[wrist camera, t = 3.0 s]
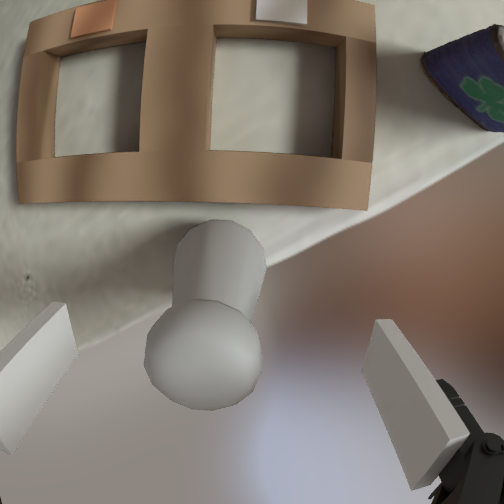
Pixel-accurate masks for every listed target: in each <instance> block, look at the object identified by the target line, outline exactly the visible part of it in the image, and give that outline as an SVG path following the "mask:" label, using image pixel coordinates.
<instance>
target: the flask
mask: <svg viewBox="0 0 504 504" xmlns="http://www.w3.org/2000/svg"><path fill="white" fill-rule="evenodd" d="M421 67H422V69H423V71H424V73H425V74H426V75H427V77H428V78H429V79H430V81H431V82H432V83H433V84H434V85H435V86H436V87H437V88H438V89H439V91H440V92H441V93H443V94H444V95H445V97H446V98H447V99H448V100H449V101H451V102H452V103H453V104H454V105H455V106H456V107H458V108H459V109H460V110H461V111H462V112H463V113H465V114H466V115H467V116H468V117H469V118H471V119H472V120H473V121H474V122H476V124H478V125H479V126H480V127H481V128H483V129H485V130H487V131H491V132H504V26H502V25H496V24H494V25H492V26H489V27H488V28H486V29H482V30H479V31H477V32H474V33H472V34H470V35H466V36H464V37H462V38H460V39H458V40H454V41H452V42H448V43H447V44H445V45H443V46H440V47H437V48H435V49H433V50H431V51H428V52H424V55H423V56H422V58H421Z"/></svg>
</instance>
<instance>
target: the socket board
mask: <svg viewBox="0 0 504 504" xmlns="http://www.w3.org/2000/svg"><path fill="white" fill-rule="evenodd" d="M216 37H233V38H260V39H274V40H286V41H295V42H304V43H312V44H319V45H325V46H332V47H335V92H334V116H333V134H332V150H331V158H330V157H321V156H310V155H298V154H285V153H269V152H250V151H220V150H210V136H211V114H212V95H213V79H214V63H215V49H216ZM138 42H146V49H145V59H144V69H143V81H142V95H141V113H140V141H139V151H130V152H111V153H97V154H84V155H73V156H63V157H55V113H56V97H57V86H58V76H59V67H60V60H61V57H63V56H67V55H71V54H76V53H80V52H85V51H89V50H94V49H99V48H105V47H111V46H117V45H123V44H130V43H138ZM375 113H376V26H375V7H374V5H371V4H367V3H363V2H359V1H355V0H101V1H97V2H93V3H89V4H85V5H81V6H77V7H74V8H71V9H67V10H64V11H61V12H58V13H55V14H52V15H49V16H46V17H43V18H40V19H37V20H35V21H32V22H30V25H29V30H28V35H27V40H26V45H25V51H24V57H23V63H22V70H21V78H20V87H19V98H18V112H17V138H16V157H17V184H18V198H19V204H23V203H45V202H77V201H197V202H231V203H256V204H277V205H295V206H311V207H326V208H340V209H353V210H365V211H367V209H368V201H369V192H370V182H371V172H372V161H373V148H374V133H375Z"/></svg>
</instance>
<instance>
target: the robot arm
mask: <svg viewBox="0 0 504 504" xmlns="http://www.w3.org/2000/svg"><path fill="white" fill-rule="evenodd" d="M77 356H78V350H77V347H76V343H75V339H74V335H73V332H72V328H71V323H70V319H69V315H68V310H67V306H66V303H61V302H52V303H50V304H49V305H48V306H47V307H46V308H45V309H44V310H43V311H42V312H41V313H40V314H39V315H37V316H36V317H35V318H34V319H33V320H32V321H31V322H30V323H29V324H28V325H27V326H26V327H25V328H24V329H23V330H22V331H21V332H20V333H19V334H18V335H17V336H16V337H15V338H14V339H13V340H12V341H11V342H10V343H9V344H8V345H7V346H6V347H5V348H4V349H3V350H2V351H1V352H0V450H1V451H4V452H6V453H7V454H9V455H11V456H13V454H14V452H15V451H16V449H17V447H18V446H19V444H20V442H21V440H22V439H23V437H24V436H25V434H26V432H27V431H28V429H29V428H30V426H31V425H32V423H33V421H34V420H35V418H36V417H37V415H38V414H39V412H40V410H41V409H42V407H43V406H44V404H45V403H46V401H47V400H48V398H49V397H50V395H51V394H52V392H53V391H54V389H55V388H56V386H57V385H58V383H59V382H60V380H61V379H62V377H63V376H64V375H65V373H66V372H67V370H68V369H69V367H70V366H71V365H72V363H73V362H74V360H75V358H76V357H77ZM361 372H362V374H363V376H364V378H365V380H366V383H367V385H368V387H369V389H370V392H371V394H372V396H373V398H374V401H375V403H376V405H377V408H378V410H379V412H380V415H381V417H382V419H383V422H384V424H385V426H386V429H387V431H388V434H389V436H390V438H391V441H392V443H393V446H394V448H395V450H396V453H397V455H398V458H399V460H400V463H401V465H402V468H403V471H404V473H405V475H406V478H407V481H408V483H409V486H410V489H411V490H415V489H418V488H422V487H425V486H428V485H431V483H432V482H433V481H434V480H435V479H436V478H437V477H438V475H439V477H440V479H441V481H442V482H441V484H440V485H439V486H438V487H437V488H436V489H435V490H434V491H433V492H432V493H431V495H430V496H429V498H428V499H431V498H432V497H433V496H434V495H435V496H434V499H433V501H432V503H431V504H504V440H503V439H502V438H501V437H500V436H498V435H496V434H494V433H484V432H483V431H482V429H481V428H480V426H479V424H478V423H477V421H476V420H475V418H474V417H473V415H472V414H471V413H470V411H469V409H468V408H467V407H466V406H464V402H463V401H462V399H461V398H459V395H458V394H457V392H456V391H455V389H454V388H453V387H452V386H451V385H450V384H448V383H447V382H446V381H444V380H443V379H440V380H435V379H434V377H433V376H432V374H431V373H430V372H429V370H428V369H427V367H426V366H425V364H424V363H423V362H422V360H421V359H420V357H419V356H418V354H417V353H416V352H415V350H414V349H413V347H412V346H411V345H410V343H409V342H408V341H407V339H406V338H405V336H404V335H403V334H402V332H401V331H400V330H399V328H398V327H397V326H396V324H395V323H394V322H393V320H392V319H381V320H375V324H374V328H373V332H372V336H371V340H370V343H369V347H368V351H367V354H366V358H365V361H364V365H363V368H362V371H361ZM0 504H2V502H1V498H0Z"/></svg>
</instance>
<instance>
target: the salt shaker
mask: <svg viewBox="0 0 504 504" xmlns="http://www.w3.org/2000/svg"><path fill="white" fill-rule="evenodd" d="M266 268H267V267H266V261H265V256H264V250H263V247H262V246H261V244H260V243H259V242H258V240H257V239H256V238H255V236H254V235H253V233H252V232H251V231H250V230H249V229H247V228H245V227H243V226H241V225H239V224H237V223H235V222H233V221H228V220H209V221H207V222H205V223H202V224H200V225H198V226H196V227H194V228H191V229H190V230H189V231H188V232H187V234H186V235H185V236H184V237H183V238H182V239H181V241H180V242H179V243H178V244H177V249H176V254H175V259H174V270H173V301H172V307H171V308H169V309H167V310H166V311H165V312H164V314H163V315H162V316H161V317H160V318H159V319H158V320H157V321H156V323H155V324H154V325H153V326H152V328H151V330H150V331H149V333H148V335H147V342H146V349H145V359H144V367H145V369H146V371H147V374H148V376H149V378H150V380H151V383H152V384H153V385H154V386H155V387H156V388H157V389H158V390H159V391H161V392H162V393H163V394H164V395H165V396H166V397H168V398H169V399H170V400H172V401H173V402H176V403H178V404H180V405H183V406H185V407H188V408H191V409H197V410H211V411H213V410H217V409H221V408H225V407H229V406H233V405H235V404H237V403H239V402H240V401H241V400H243V399H244V398H245V397H247V396H248V395H249V394H251V393H252V392H253V390H254V388H255V386H256V383H257V381H258V379H259V377H260V374H261V369H262V365H263V359H262V353H261V348H260V344H259V338H258V334H257V331H256V330H255V328H254V327H253V326H252V325H251V322H252V318H253V315H254V311H255V308H256V304H257V301H258V297H259V293H260V290H261V286H262V283H263V279H264V275H265V272H266Z"/></svg>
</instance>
